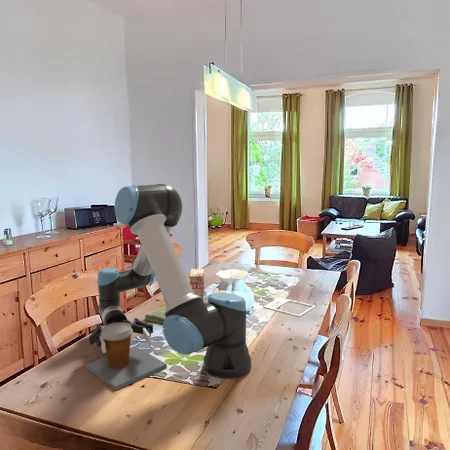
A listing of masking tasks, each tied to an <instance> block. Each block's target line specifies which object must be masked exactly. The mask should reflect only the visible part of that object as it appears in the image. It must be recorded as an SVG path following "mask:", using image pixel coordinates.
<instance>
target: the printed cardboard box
mask: <svg viewBox="0 0 450 450" xmlns="http://www.w3.org/2000/svg"><path fill="white" fill-rule="evenodd" d="M189 283H190V285H191V288H192V290H193V292H194V294H195V295H198V296H201V298H202V300H203V301H204V299H203V298H205V270H204V268H191V269H190V274H189Z"/></svg>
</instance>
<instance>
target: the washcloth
mask: <svg viewBox="0 0 450 450" xmlns="http://www.w3.org/2000/svg"><path fill="white" fill-rule="evenodd" d="M166 308H167V306H162V307H159V308H157V309H154V310H152V311H151V312H149V313H146V314H145V315H144V318H146V321H148V322H153V323H158V324H163V322H164V320H165V319H166V316H165V311H166Z"/></svg>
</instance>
